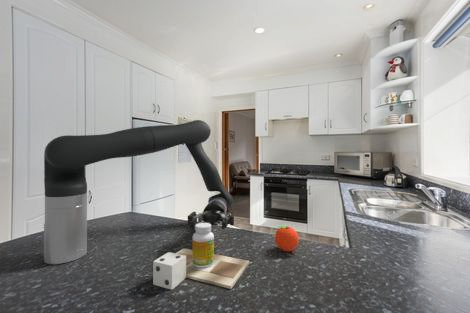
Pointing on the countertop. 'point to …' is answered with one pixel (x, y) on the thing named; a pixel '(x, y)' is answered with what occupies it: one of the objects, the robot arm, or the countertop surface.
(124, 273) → the countertop surface
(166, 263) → the die
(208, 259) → the supplement bottle
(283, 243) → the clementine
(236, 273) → the board
